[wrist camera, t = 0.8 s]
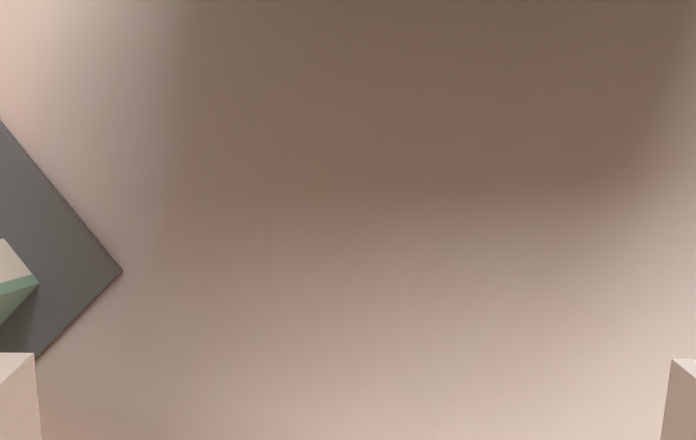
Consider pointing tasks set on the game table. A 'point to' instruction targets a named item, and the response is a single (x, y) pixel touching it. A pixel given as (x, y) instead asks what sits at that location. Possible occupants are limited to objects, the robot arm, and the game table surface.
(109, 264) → the mat
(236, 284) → the game table surface
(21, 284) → the tile
